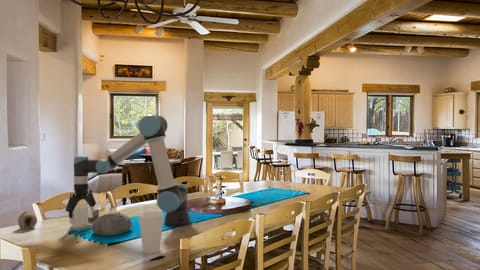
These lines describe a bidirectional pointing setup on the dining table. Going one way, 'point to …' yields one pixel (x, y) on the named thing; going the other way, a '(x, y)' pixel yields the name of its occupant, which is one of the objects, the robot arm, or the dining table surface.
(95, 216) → the walnut block
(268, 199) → the dining table surface
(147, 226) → the cup
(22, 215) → the grey rounded ring
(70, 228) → the coaster
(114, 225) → the decorative stone
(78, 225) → the mug
